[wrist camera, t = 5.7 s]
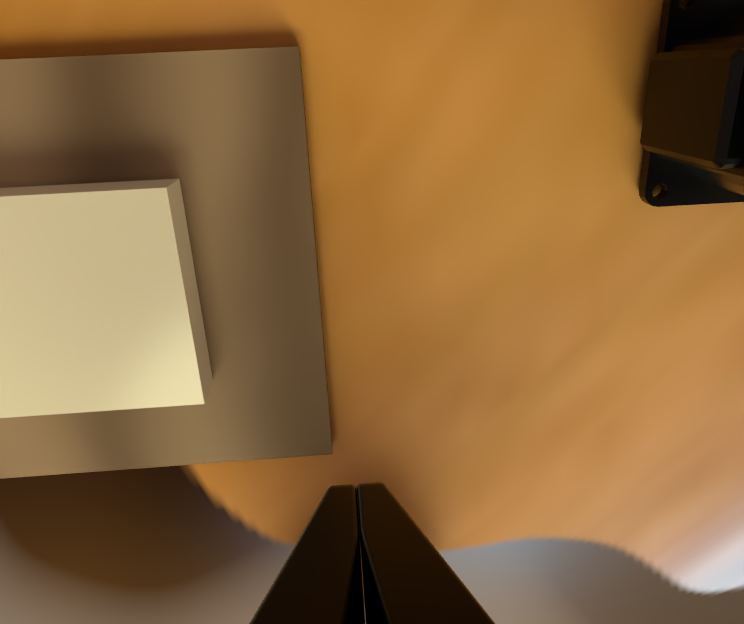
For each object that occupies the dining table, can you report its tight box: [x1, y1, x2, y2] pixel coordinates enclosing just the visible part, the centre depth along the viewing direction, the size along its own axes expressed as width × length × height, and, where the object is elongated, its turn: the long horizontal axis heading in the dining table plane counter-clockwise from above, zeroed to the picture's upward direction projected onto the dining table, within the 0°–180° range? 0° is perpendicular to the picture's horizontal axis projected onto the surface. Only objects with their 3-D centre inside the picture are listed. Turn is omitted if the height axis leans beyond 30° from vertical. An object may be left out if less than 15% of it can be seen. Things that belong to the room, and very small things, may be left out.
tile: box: [0, 179, 213, 418], centre depth 18 cm, size 2×7×8 cm
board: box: [0, 46, 332, 478], centre depth 19 cm, size 14×14×1 cm
